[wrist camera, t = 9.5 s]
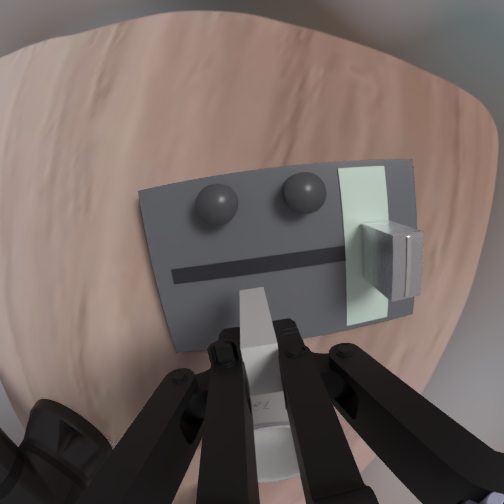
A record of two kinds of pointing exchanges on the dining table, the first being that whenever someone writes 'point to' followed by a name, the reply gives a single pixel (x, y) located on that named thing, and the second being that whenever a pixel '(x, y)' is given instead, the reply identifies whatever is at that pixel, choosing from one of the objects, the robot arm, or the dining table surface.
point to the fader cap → (392, 258)
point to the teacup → (273, 438)
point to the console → (274, 245)
